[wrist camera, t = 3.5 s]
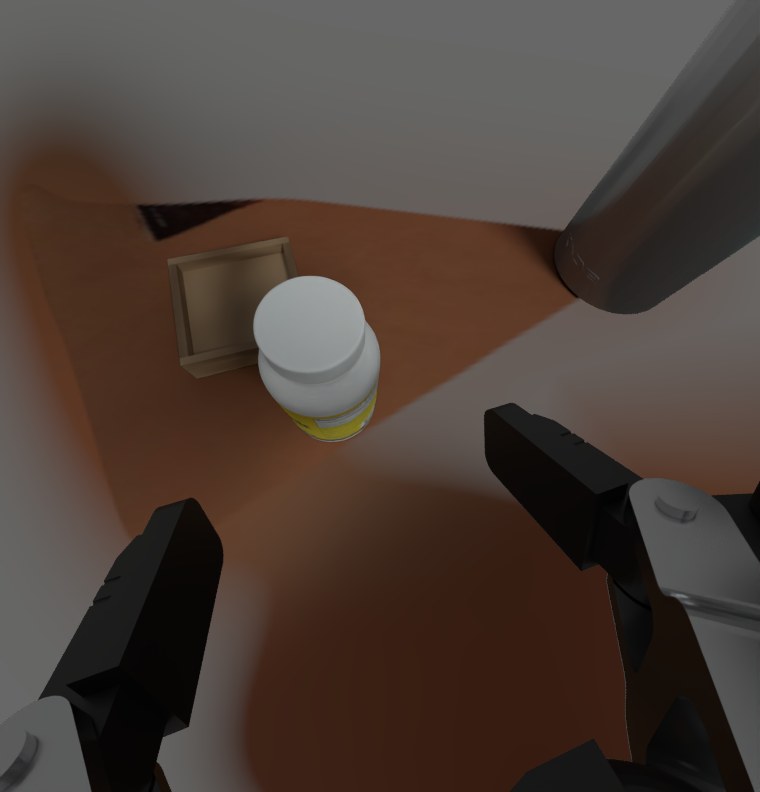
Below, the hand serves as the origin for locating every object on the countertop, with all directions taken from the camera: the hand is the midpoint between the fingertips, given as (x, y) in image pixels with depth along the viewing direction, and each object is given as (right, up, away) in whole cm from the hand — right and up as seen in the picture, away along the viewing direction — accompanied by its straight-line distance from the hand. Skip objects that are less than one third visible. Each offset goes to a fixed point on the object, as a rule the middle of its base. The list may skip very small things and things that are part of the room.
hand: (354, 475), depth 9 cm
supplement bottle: (-2, +2, +12) cm, 12 cm away
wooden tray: (-9, +8, +14) cm, 18 cm away
